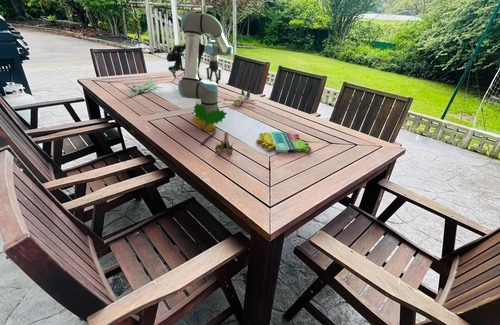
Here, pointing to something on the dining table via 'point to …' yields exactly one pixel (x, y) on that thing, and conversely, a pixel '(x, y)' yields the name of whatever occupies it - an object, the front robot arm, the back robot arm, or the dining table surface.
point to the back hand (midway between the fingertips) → (179, 79)
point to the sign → (283, 142)
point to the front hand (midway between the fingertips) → (213, 87)
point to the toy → (241, 99)
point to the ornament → (207, 117)
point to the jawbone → (224, 145)
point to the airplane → (143, 87)
